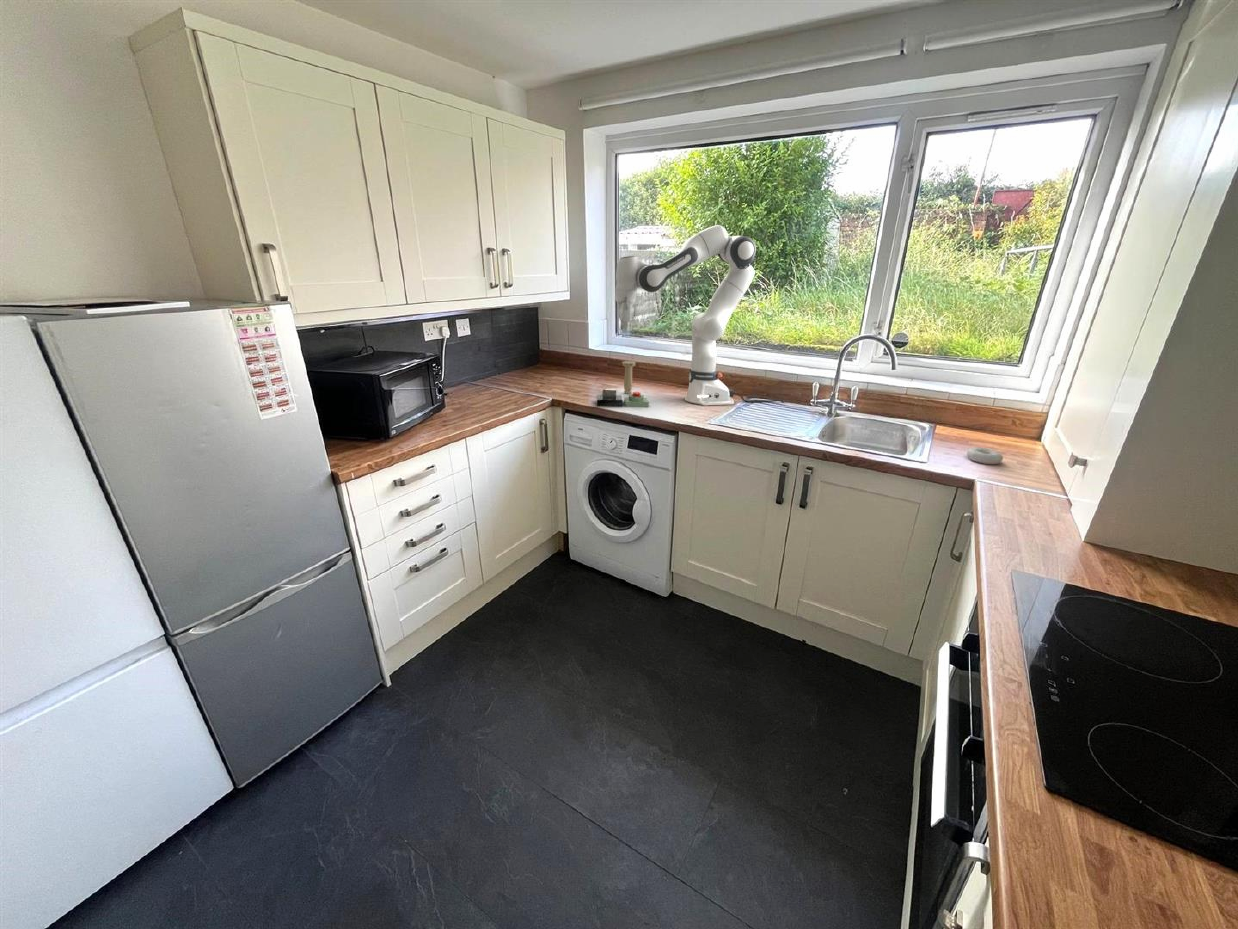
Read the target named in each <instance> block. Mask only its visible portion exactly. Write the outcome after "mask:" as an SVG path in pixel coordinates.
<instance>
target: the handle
mask: <svg viewBox="0 0 1238 929" xmlns="http://www.w3.org/2000/svg"><path fill="white" fill-rule="evenodd" d="M621 365H622V366H623V367H624V378H623V389H624V390H623V391H624V394H626V395H630V394H632V389H633V368H634V367H636V365H637V364H636V361H632V360H631V361H630V360H628V361H622V362H621Z"/></svg>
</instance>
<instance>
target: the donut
mask: <svg viewBox="0 0 1238 929" xmlns="http://www.w3.org/2000/svg"><path fill="white" fill-rule="evenodd" d="M966 456H967V458H968V459H969V460H971V461H973V462H975V463H980V464H985V465H998V464H1000V463H1002V461H1003V460H1004V456H1003V454H1001V453H1000V452H999V451H997V450H994V449H991V448H986V447H971V448H969V449H968V450H967V451H966Z"/></svg>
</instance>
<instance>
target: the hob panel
mask: <svg viewBox="0 0 1238 929" xmlns="http://www.w3.org/2000/svg"><path fill="white" fill-rule="evenodd" d="M602 396H603V394H596V407H612V408H614V407H615V408H622V407H623V398H622V395H621V394H616V398H603V397H602Z"/></svg>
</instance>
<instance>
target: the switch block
mask: <svg viewBox="0 0 1238 929" xmlns="http://www.w3.org/2000/svg"><path fill="white" fill-rule="evenodd" d="M623 402H624V407H630V408H631V407H633V408H635V407H636V408H649V400H648V398H647V397H645V396H644V394H641V396H640V397H633V396H632V393H631V394H628V397H627V396H625V397H624V398H623Z"/></svg>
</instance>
